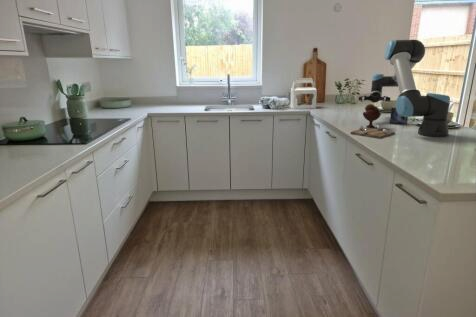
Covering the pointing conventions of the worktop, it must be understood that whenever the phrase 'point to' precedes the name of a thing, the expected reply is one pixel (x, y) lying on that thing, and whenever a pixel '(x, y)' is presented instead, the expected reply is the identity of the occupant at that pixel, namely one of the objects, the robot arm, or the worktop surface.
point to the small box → (397, 117)
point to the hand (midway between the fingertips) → (373, 100)
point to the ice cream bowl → (371, 114)
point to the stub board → (372, 132)
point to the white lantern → (303, 90)
